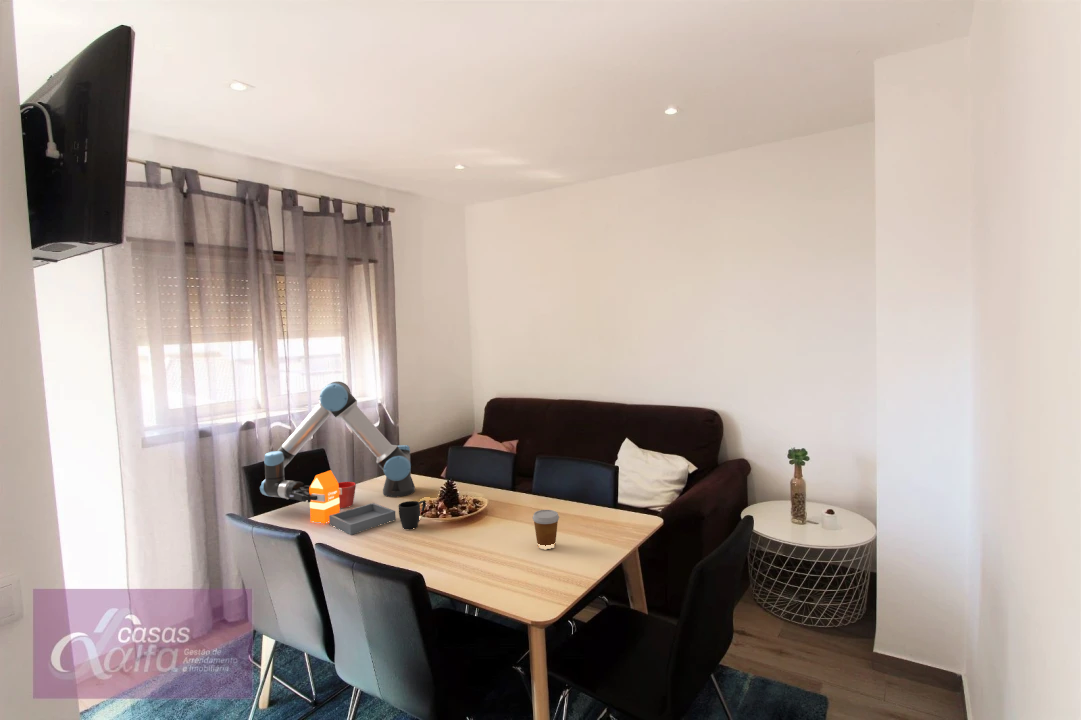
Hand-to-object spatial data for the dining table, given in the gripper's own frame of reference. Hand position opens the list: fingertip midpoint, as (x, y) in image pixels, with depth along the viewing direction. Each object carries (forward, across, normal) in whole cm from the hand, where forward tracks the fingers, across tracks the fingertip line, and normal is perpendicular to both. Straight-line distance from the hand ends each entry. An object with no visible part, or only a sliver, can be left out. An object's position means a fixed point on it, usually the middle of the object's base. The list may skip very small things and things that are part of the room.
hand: (332, 494), depth 218 cm
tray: (+13, -2, -11) cm, 17 cm away
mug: (+36, -6, -11) cm, 38 cm away
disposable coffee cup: (+94, -4, -11) cm, 94 cm away
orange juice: (-5, 0, -11) cm, 12 cm away
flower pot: (-10, -17, -11) cm, 23 cm away
